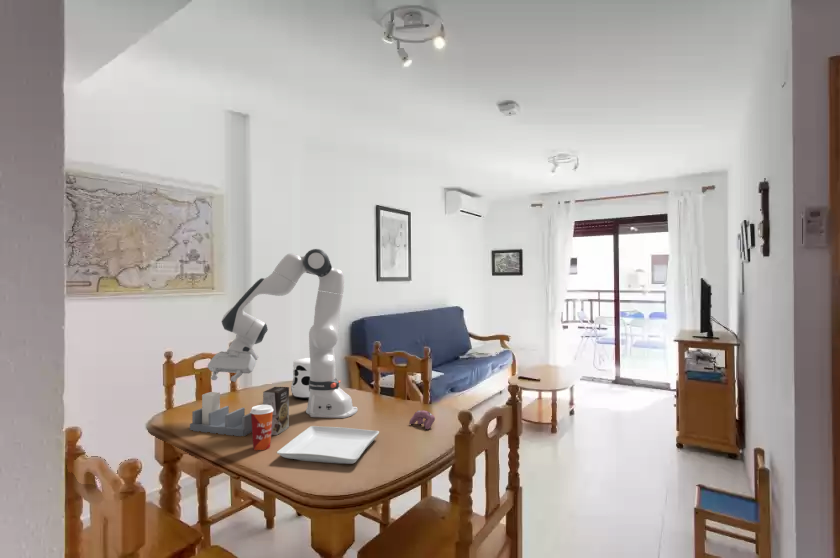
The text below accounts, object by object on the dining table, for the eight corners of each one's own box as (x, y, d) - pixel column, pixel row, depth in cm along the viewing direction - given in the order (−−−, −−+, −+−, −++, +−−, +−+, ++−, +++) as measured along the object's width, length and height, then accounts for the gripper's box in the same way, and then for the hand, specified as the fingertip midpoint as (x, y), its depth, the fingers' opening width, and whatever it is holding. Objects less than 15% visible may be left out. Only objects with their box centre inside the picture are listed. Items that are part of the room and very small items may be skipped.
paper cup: (259, 453, 148) (260, 411, 148) (245, 448, 152) (245, 408, 152) (278, 446, 154) (278, 406, 154) (264, 441, 158) (264, 402, 158)
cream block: (219, 422, 176) (219, 392, 176) (211, 426, 172) (211, 395, 172) (210, 421, 177) (210, 391, 177) (202, 425, 173) (202, 394, 173)
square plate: (356, 470, 136) (356, 458, 136) (274, 463, 141) (274, 451, 141) (380, 439, 162) (380, 429, 162) (310, 434, 167) (310, 424, 167)
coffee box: (277, 435, 165) (277, 392, 165) (262, 434, 166) (262, 391, 166) (289, 427, 174) (289, 386, 174) (274, 426, 175) (274, 385, 175)
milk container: (334, 395, 223) (334, 359, 223) (309, 403, 208) (309, 365, 208) (309, 390, 231) (309, 356, 231) (283, 398, 217) (283, 361, 217)
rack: (262, 426, 175) (262, 408, 175) (243, 436, 163) (243, 417, 163) (212, 420, 181) (212, 403, 181) (189, 430, 170) (189, 412, 170)
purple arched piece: (433, 432, 174) (438, 414, 176) (426, 429, 171) (431, 411, 173) (414, 426, 180) (419, 409, 183) (407, 424, 177) (412, 406, 180)
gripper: (214, 347, 190) (197, 374, 181) (255, 348, 185) (240, 377, 175) (221, 355, 195) (205, 382, 185) (261, 357, 189) (247, 385, 180)
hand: (222, 380), depth 180 cm, fingers open, 8 cm apart
